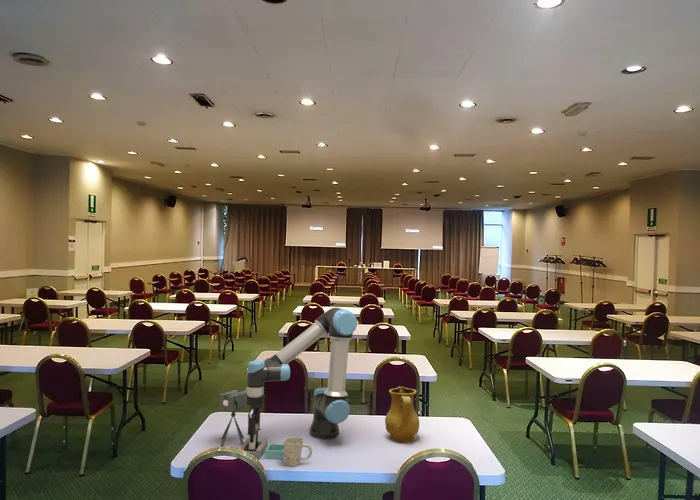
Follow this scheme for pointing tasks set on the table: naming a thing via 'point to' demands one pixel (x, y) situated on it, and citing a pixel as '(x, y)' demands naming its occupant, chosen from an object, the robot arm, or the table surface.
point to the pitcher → (402, 416)
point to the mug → (294, 450)
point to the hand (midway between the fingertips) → (253, 447)
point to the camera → (233, 408)
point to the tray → (275, 451)
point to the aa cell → (256, 437)
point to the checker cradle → (260, 450)
